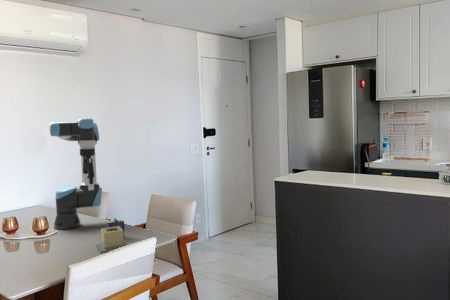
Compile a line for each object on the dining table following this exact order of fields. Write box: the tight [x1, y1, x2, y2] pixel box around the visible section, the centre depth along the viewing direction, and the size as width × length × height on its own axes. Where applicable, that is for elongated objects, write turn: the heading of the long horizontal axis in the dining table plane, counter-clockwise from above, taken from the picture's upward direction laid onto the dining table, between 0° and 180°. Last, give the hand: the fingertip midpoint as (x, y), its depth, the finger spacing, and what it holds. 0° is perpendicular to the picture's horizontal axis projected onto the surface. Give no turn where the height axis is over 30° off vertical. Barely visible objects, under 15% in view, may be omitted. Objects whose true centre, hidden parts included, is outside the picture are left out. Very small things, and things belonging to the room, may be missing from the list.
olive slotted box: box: [100, 226, 125, 249], centre depth 210 cm, size 10×10×8 cm
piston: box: [95, 240, 129, 254], centre depth 210 cm, size 14×14×6 cm
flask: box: [106, 217, 125, 237], centre depth 227 cm, size 9×3×11 cm, turn 109°
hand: (88, 187), depth 222 cm, fingers open, 13 cm apart
